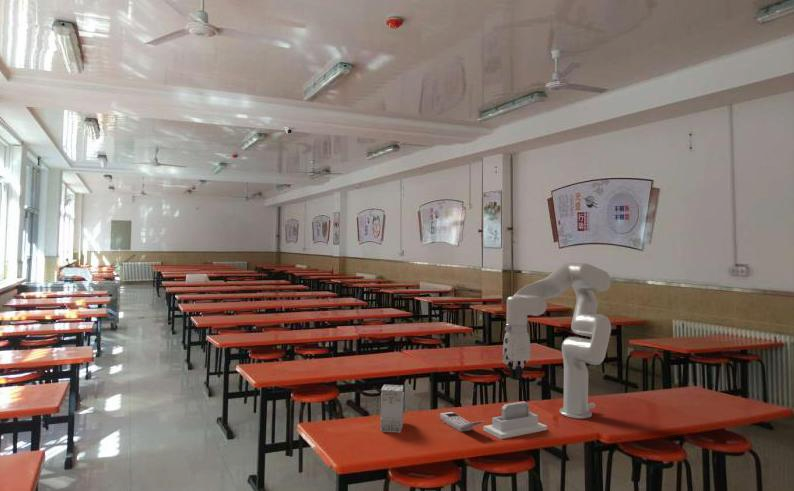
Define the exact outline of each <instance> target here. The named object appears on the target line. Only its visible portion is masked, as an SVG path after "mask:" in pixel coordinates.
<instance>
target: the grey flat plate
mask: <svg viewBox="0 0 794 491" xmlns="http://www.w3.org/2000/svg"><path fill="white" fill-rule="evenodd" d="M529 412H530V404H529V403H528V402H527V401H524V400H523V401H517V402H509V403H504V405H502V407H501V416H502V419H501V421H504V420H510V419H515V418H521V417H527V416H529Z"/></svg>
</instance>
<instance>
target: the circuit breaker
mask: <svg viewBox="0 0 794 491" xmlns="http://www.w3.org/2000/svg"><path fill="white" fill-rule="evenodd" d="M380 391H381V393H380V403H381V404H380V405H381V406H380V430H379V432H381V433H382V432H384V433H386V432H387V433H399V434H400V433H401V432H402V428H403V426H404V423H403V422H404V419H403V418H404V412H405V392H404V384H400V385H399V384H383V386H381V390H380Z"/></svg>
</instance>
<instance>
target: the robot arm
mask: <svg viewBox="0 0 794 491" xmlns="http://www.w3.org/2000/svg"><path fill="white" fill-rule="evenodd" d="M611 283H612V279H611V276H610V274H609V273H608V272H607V271H605V270H604V269H601V268H599V267H596V266H594V265H592V264H590V263H583V262H565V263H563V264H561V265H560V266H559V267H557V268H556V269H555V270H554V271H553V272H551V273H550V274H549V275H547V277H544V278H542V279H540V280H537V281H535V282H533V283H529V284H527V285H525V286H523V287H522V288H520V289H519V290H517V291H516V292H515V293H514V294H513V296H512V295H511V296H508V297H507V298H506V318H505V319H506V325H505V327H504V331H506V332H505V333H504V338H503V344H502V357H503V358H502V363H503V364H505V365H507V367H508V369H509V380H514V381H517V379H518V380H522V379H523V369H524V367H525V364H526V363H528V362H529V361H530V359H531V356H532V355H531V354H532V353H531V352H532V351H531V340H530V334H529V333H528V316H535V317H536V316H541V315H543V314H544V313H545V312H546V310H547V308H548V305H547V302H546V300H545V299H551V298H555V297H558V296H561V295H562V294H563V292H565V291H566V290H567V289H568V288H570V287H572V288H573V291H574V293H575V297H576V303H575V307H574V311H573V314H572V315H573V316H572V320H571V324H570V325H571V326H570V327H571V328H570V329H571V331H572V332H573V333H574V334H576V335H580V336H583V337H584V336H585V337H591V339H588V338H583V337H577V336H568V337H566V338H565V339H564V340H563V341H562V343H561V354H562V359H563V406H562V407H560V408H559V413H560V414H561V415H562V416H565V417H567V418H572V419H578V420H579V419H580V420H581V419H590V418H591V417H592V416H593V415H592V414H593V413H592V411H590V410H591V409H594V408H596V404H595V403H594V402H589V370H588V367H587V364H590V365H596V366H597V365H601V363H603V361H604V360H605V358H606V354H607V350H608V346H609V342H610V337H611V333H612V323H611V321H610V319H609V318H608V316H607V315H603V314H600V313H597V311H598V305H599V303H598V299H597V297H596V295H595V293H594V292H606V291H607V290H608V289H609V288H610V286H611Z"/></svg>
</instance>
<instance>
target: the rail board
mask: <svg viewBox="0 0 794 491" xmlns="http://www.w3.org/2000/svg"><path fill="white" fill-rule="evenodd" d="M501 419H502V415H500V416H496V417H495V416H494V417H492V419H491V421H492V422H491V423H492V424H488V425H483V427H482V429H483V431H484V432H485V433H488V434H490V435H492V436H494V437H496V438H498V439H500V440H503V439H508V438H512V437H518V436H523V435H528V434H533V433H538V432H542V431H547V430H548V425H546V424H543V423H541V422H539V416H538V415H537V414H536V413H534V412H531V411H529V416H527V417H521V418H515V419H510V420H504V421H501Z"/></svg>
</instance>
